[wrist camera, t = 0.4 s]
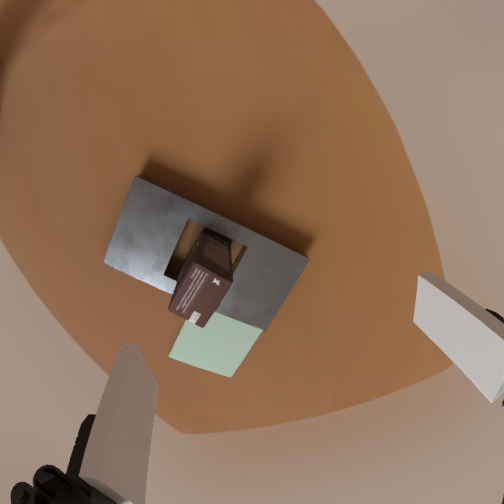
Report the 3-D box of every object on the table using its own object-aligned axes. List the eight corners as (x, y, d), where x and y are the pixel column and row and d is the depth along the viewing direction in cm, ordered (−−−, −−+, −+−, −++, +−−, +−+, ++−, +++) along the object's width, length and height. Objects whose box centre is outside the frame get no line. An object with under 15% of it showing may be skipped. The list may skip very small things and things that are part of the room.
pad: (168, 354, 42) (168, 356, 41) (194, 301, 39) (194, 303, 39) (230, 375, 45) (230, 377, 44) (262, 327, 42) (262, 329, 41)
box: (201, 227, 36) (195, 261, 25) (231, 244, 37) (238, 284, 26) (179, 264, 37) (165, 311, 26) (208, 280, 38) (206, 331, 27)
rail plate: (109, 256, 35) (103, 262, 33) (140, 174, 33) (135, 176, 30) (262, 321, 42) (265, 330, 39) (304, 252, 39) (309, 259, 36)
